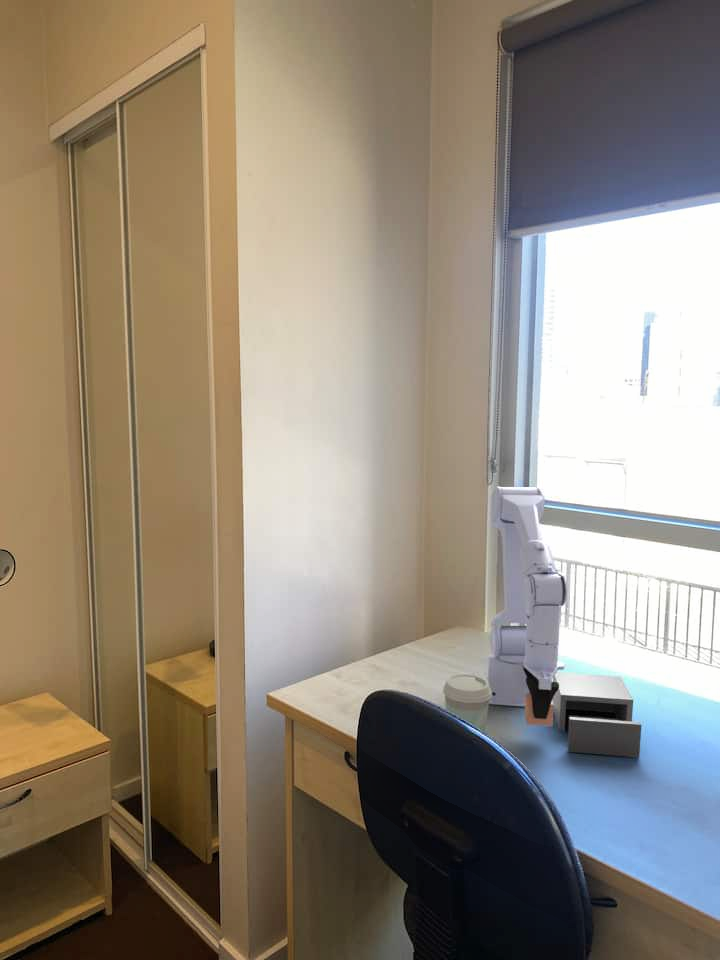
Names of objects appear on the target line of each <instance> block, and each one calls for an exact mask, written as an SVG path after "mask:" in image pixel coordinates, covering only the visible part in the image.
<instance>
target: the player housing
mask: <svg viewBox="0 0 720 960" xmlns="http://www.w3.org/2000/svg"><path fill="white" fill-rule="evenodd" d="M552 682H558V683H559V689H558V691H557V692H556V693H555V695H554V697H553V699H552V701H553V704H554V708H553V716H554V718H555V722H556V725H557V728H558V731H560V732H565V730H566V729H565V727H566V710H578V711H581V710H582V711H590V712H591V711H592V712H604V713H605V712H606V713H614V715H615V717H616V719H618V721H631V722H633V709H634V699H633V697H632V695H631V693H630V691H629V690H628V688H627V686H626V684H625V682H624V680H623V678H622V677H621V676H615V675H601V674H600V675H599V674H585V673H573V672H572V673H571V672H558V671H557V672H556V674H555V675H554V677H553V678H552Z"/></svg>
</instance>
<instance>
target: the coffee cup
mask: <svg viewBox="0 0 720 960" xmlns="http://www.w3.org/2000/svg"><path fill="white" fill-rule="evenodd" d="M442 693H443V695H444V699H445V701H444V702H445V703H444V704H445V710H447V711H449V712H451V713H453V714H455V715H457V716H459V717H460V718H462V719H464V720H465V721H467V722H469V723H471V724H472V725H474V726H475V727H477V728H479V729H480V730H482V731H483V732H484V733H485V729H486V723H487V717H488V710H489V705H490V704H489V699H490V698H491V696H492V693H491V689H490V687H489V683H488V681H487V679H486V678H484V677H483V676H482V677H481V676H479V675H475V674H470V673H469V674H466V673H464V674H463V673H462V674H454V675H451V676H449V677H447V679H446V682H445V684H444V686H443V690H442Z"/></svg>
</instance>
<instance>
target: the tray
mask: <svg viewBox="0 0 720 960" xmlns="http://www.w3.org/2000/svg"><path fill="white" fill-rule="evenodd" d="M567 721H568V722H567V723H568V732H567V733H568V734H567V735H568V737H567V751H568V752H570V753H578V754H579V753H581V754H592V755H593V754H595V755H603V756H615V757H616V756H617V757H629V758H631V757H632V758H640V751H641V741H642V740H641V737H642V735H641V734H642V723H641V722H640V721H632V722H631V721H618V719H617V718H613V717H612V718H610V717H601V716H600V717H598V716H587V715H585V716H583V715H572V714H569V715H568V719H567Z"/></svg>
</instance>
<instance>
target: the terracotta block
mask: <svg viewBox="0 0 720 960" xmlns="http://www.w3.org/2000/svg"><path fill="white" fill-rule="evenodd" d="M553 708H554V704H553V701H551V705H550V708H549V712H548V715H547V718H546V719H538V718H534V714H533V708H532V699H531V694H530V693H527V692H526V695H525V707H524V716H525V722H526V724H527V725H534V726H535V725H536V726H546V727H553V726H554V725H553V724H554V723H553V722H554V711H553Z"/></svg>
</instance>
